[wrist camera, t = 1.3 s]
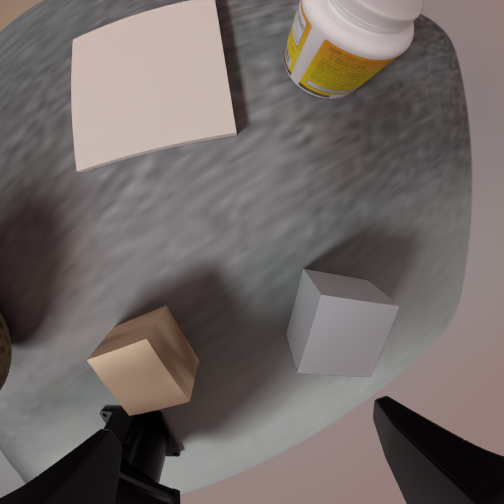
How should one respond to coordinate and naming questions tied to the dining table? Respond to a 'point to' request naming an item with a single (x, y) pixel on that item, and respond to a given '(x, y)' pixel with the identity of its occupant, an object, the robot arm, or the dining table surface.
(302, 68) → the supplement bottle
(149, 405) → the birch block
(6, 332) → the decorative egg
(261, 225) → the dining table surface
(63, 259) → the dining table surface
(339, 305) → the pale grey block
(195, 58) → the cream square tile
